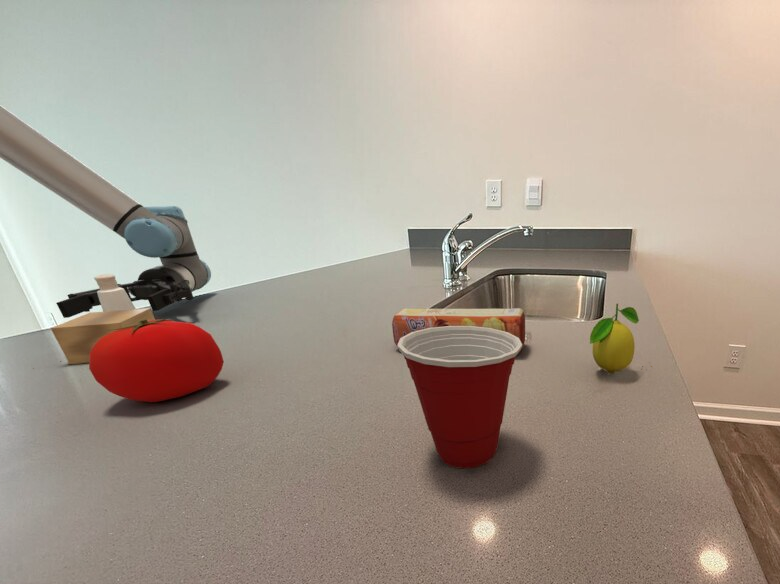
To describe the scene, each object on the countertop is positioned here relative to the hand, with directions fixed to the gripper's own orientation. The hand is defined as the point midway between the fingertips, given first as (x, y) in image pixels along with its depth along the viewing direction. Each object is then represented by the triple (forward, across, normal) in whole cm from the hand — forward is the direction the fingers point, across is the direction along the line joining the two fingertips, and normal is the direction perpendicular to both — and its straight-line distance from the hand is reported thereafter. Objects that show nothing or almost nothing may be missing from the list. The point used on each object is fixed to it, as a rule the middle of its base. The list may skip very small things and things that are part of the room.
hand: (108, 307), depth 73 cm
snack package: (+25, -60, -6) cm, 65 cm away
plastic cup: (+54, -57, -6) cm, 78 cm away
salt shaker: (-3, 0, -6) cm, 7 cm away
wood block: (+8, -4, -6) cm, 11 cm away
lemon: (+41, -79, -6) cm, 89 cm away
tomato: (+29, -21, -6) cm, 37 cm away
